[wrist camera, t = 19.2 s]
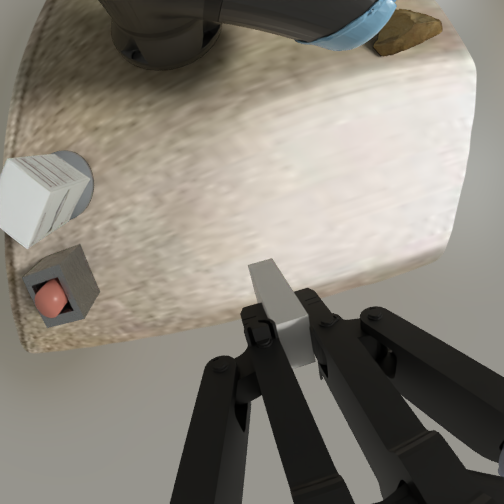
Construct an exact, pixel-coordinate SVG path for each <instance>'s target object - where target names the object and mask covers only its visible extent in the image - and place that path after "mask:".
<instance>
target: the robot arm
mask: <svg viewBox="0 0 504 504" xmlns="http://www.w3.org/2000/svg"><path fill="white" fill-rule="evenodd" d="M395 1H396V0H99V2H100V3H101V4H102V5H103V7H104V8H105V9H106V11H107V12H108V13H109V15H110V16H111V17H112V23H111V35H112V39H113V42H114V45H115V46H116V48H117V50H118V51H119V52H120V53H121V54H122V56H123V57H124V58H125V59H126V60H128V61H129V62H130V63H132V64H134V65H136V66H138V67H141V68H144V69H149V70H170V69H175V68H179V67H182V66H185V65H187V64H189V63H191V62H193V61H195V60H197V59H198V58H200V57H201V56H203V55H204V54H205V53H206V52H207V51H208V50H209V49H210V48H211V47H212V46H213V45H214V43H215V42H216V40H217V38H218V37H219V34H220V32H221V28H222V23H224V24H230V25H236V26H241V27H246V28H251V29H255V30H260V31H264V32H268V33H272V34H276V35H280V36H284V37H287V38H291V39H294V40H295V41H296V42H298V43H301V44H312V45H316V46H319V47H322V48H326V49H329V50H333V51H341V50H351V49H354V48H356V47H358V46H361V45H362V44H364V43H366V42H367V41H369V40H370V39H371V38H372V37H374V36H375V35H376V34H377V33H378V32H379V31H380V30H381V29H382V28H383V27H384V26H385V24H386V23H387V22H388V20H389V19H390V18H391V16H392V14H393V13H394V11H395V9H396V7H397V6H396V4H395V3H394V2H395ZM248 268H249V271H250V275H251V279H252V283H253V287H254V291H255V294H256V298H257V302H258V304H254V305H251V306H247V307H244V308H243V309H242V311H241V318H242V322H243V326H244V333H245V337H246V340H247V343H248V347H247V349H246V350H245V352H244V353H243V354H241V355H240V356H238V357H236V358H235V359H234V358H232V357H230V356H219V357H215V358H214V359H211V360H210V361H209V362H208V363H207V365H206V366H205V369H204V373H203V376H202V380H201V384H200V388H199V392H198V395H197V399H196V403H195V407H194V410H193V414H192V418H191V422H190V426H189V430H188V434H187V438H186V441H185V445H184V449H183V453H182V457H181V461H180V465H179V469H178V473H177V477H176V480H175V484H174V489H173V493H172V497H171V501H170V504H242V495H243V485H244V475H245V464H246V455H247V444H248V434H249V423H250V412H251V401H252V400H254V399H256V398H258V397H259V396H261V395H262V396H263V400H264V403H265V407H266V411H267V414H268V417H269V421H270V424H271V428H272V431H273V435H274V438H275V441H276V444H277V448H278V451H279V454H280V458H281V461H282V464H283V467H284V471H285V474H286V477H287V481H288V484H289V487H290V491H291V495H292V499H293V502H294V504H355V503H354V501H353V499H352V496H351V494H350V492H349V490H348V488H347V486H346V483H345V482H344V479H343V478H342V477H341V476H340V475H339V474H338V472H337V470H336V468H335V466H334V464H333V461H332V459H331V457H330V455H329V452H328V450H327V448H326V445H325V443H324V441H323V439H322V436H321V434H320V432H319V430H318V427H317V425H316V423H315V420H314V418H313V416H312V414H311V411H310V409H309V407H308V405H307V402H306V400H305V398H304V395H303V393H302V391H301V388H300V386H299V384H298V381H297V379H296V377H295V374H294V372H293V370H292V369H295V368H298V367H301V366H304V365H307V364H310V363H313V362H315V356H316V358H317V360H318V366H319V374H320V379H321V380H322V379H323V377H324V379H325V381H326V383H327V385H328V387H329V389H330V391H331V392H332V394H333V396H334V398H335V400H336V402H337V404H338V406H339V407H340V409H341V411H342V413H343V415H344V417H345V419H346V421H347V422H348V425H349V427H350V429H351V430H352V432H353V434H354V436H355V438H356V440H357V442H358V444H359V445H360V447H361V450H362V451H363V453H364V455H365V457H366V459H367V461H368V463H369V465H370V467H371V468H372V471H373V472H374V474H375V476H376V478H377V480H378V482H379V485H380V491H381V494H382V497H383V501H381V502H378V503H373V504H504V377H502V376H501V375H499V374H497V373H496V372H494V371H492V370H491V369H489V368H487V367H486V366H484V365H482V364H480V363H478V362H477V361H475V360H474V359H472V358H470V357H468V356H466V355H465V354H463V353H462V352H460V351H458V350H457V349H455V348H453V347H451V346H450V345H448V344H446V343H445V342H443V341H441V340H439V339H438V338H436V337H434V336H432V335H431V334H429V333H427V332H425V331H424V330H422V329H420V328H419V327H417V326H415V325H413V324H411V323H410V322H408V321H406V320H405V319H403V318H401V317H399V316H397V315H396V314H394V313H392V312H390V311H389V310H387V309H385V308H382V307H369V308H367V309H365V310H363V311H362V312H361V314H360V318H359V319H352V320H343V319H342V318H341V317H340V316H339V315H337V314H334V313H331V312H330V310H329V309H328V308H327V306H326V305H325V304H324V303H323V301H322V300H321V299H320V297H319V296H318V295H317V293H316V292H315V291H314V290H311V289H309V288H305V289H302V290H299V291H295V292H293V290H292V289H291V287H290V285H289V284H288V282H287V281H286V279H285V278H284V276H283V275H282V273H281V271H280V270H279V268H278V267H277V265H276V264H275V262H274V261H273V259H272V258H271V259H268V260H264V261H261V262H257V263H254V264H250V265H248ZM314 354H315V356H314ZM322 375H323V377H322ZM400 394H401V395H402V396H403V397H405V398H406V399H407V400H408V401H410V402H411V403H412V404H414V405H415V406H416V407H417V408H419V409H420V410H421V411H423V412H424V413H425V414H427V415H428V416H429V417H430V418H432V419H433V420H434V421H435V422H437V423H438V424H439V425H441V426H442V427H443V428H445V429H446V430H447V431H448V432H450V433H451V434H452V435H454V436H455V437H456V438H458V439H459V440H460V441H462V442H463V443H464V444H466V445H467V446H468V447H470V448H471V449H472V450H474V451H475V452H477V453H478V454H480V455H481V456H483V457H485V458H487V459H489V460H491V461H494V462H497V463H499V469H498V473H499V475H500V476H496V475H491V474H486V473H481V472H476V471H472V470H468V469H466V468H465V467H464V465H463V464H462V462H461V461H460V460H459V458H458V457H457V456H456V454H455V453H454V451H453V450H452V449H451V447H450V446H449V445H448V443H447V442H446V441H445V439H444V438H443V437H442V435H441V434H439V432H436V431H435V430H433V431H428V430H427V429H426V428H425V427H424V426H423V424H422V423H421V422H420V420H419V419H418V418H417V416H416V415H415V414H414V412H413V411H412V409H411V408H410V407H409V405H408V404H407V403H406V402H405V400H404V399H403V397H402V396H401V395H400Z"/></svg>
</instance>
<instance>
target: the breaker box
mask: <svg viewBox="0 0 504 504" xmlns="http://www.w3.org/2000/svg"><path fill="white" fill-rule="evenodd" d="M56 277H58V279H59V281H60V283H61V285H62V287H63V289H64V292H65V294H66V296H67V298H68V302H67V303H66V304H65V306H64V307H63V309H62V310H61V311H60V313H59V314H58V316H56V317H54V318H49V317H46V316H44V315H43V314H41V313H40V312H39V310H38V309H37V310H38V312H39V313H40V315H41V317H42V319H43V321H44V323H45V325H46V326H47V328H49V327H53V326H57V325H61V324H65V323H69V322H73V321H77V320H81V319H85V317H86V315H87V313H88V312H89V310H90V308H91V306H92V305H93V303H94V301H95V300H96V298H97V296H98V294H99V293H100V290H99V288H98V286H97V284H96V281H95V279H94V277H93V274H92V272H91V270H90V267H89V265H88V262H87V260H86V257H85V255H84V252H83V250H82V247H81V245H80V244H79V245H77V246H74V247H71V248H68V249H66V250H63V251H60V252H57V253H55V254H52V255H49V256H47V257H45V258H44V259H43V260H42V261H40V262H39V263H38V264H37V265H36V266H35V267H33V268H32V269H31V270H30V271H29V272H28V273H27V274H26V275H24V276H23V277H22V279H23V281H24V283H25V285H26V287H27V289H28V292H29V294H30V296H31V298H32V300H33V302H34V304H35V295H36V294H37V292H38V291H39V290H40V289H41V288H42V287H43V286H44V285H45V284H46V283H47V282H48V281H49V280H50V279H53V278H56ZM35 306H36V305H35ZM36 308H37V307H36Z"/></svg>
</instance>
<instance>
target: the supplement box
mask: <svg viewBox="0 0 504 504" xmlns="http://www.w3.org/2000/svg"><path fill="white" fill-rule="evenodd" d="M89 181H90V178H89V177H87V176H86V175H84V174H83V173H81V172H80V171H78V170H77V169H76V168H74V167H73V166H71V165H70V164H68V163H67V162H66V161H64V160H63V159H61V158H60V157H58V156H57V155H55V154H48V155H36V156H27V157H18V158H8V159H7V160H6V162H5V165H4V167H3V170H2V173H1V175H0V228H1V229H2V230H3V231H4V232H6V233H7V234H8V235H9V236H11V237H12V238H13V239H14V240H16V241H17V242H18V243H20V244H21V245H22V246H23V247H25V248H26V249H28V248H30V247H31V246H33V245H34V244H35V243H37V242H38V241H40V240H41V239H43V238H44V237H46V236H47V235H49V234H50V233H52V232H53V231H55V230H56V229H58V228H59V227H61V226H63V225H64V224H66V223H67V222H69V220H70V217H71V215H72V213H73V211H74V208H75V206H76V204H77V202H78V200H79V198H80V197H81V195H82V193H83V191H84V189H85V188H86V186H87V184H88V182H89Z"/></svg>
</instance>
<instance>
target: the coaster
mask: <svg viewBox="0 0 504 504" xmlns="http://www.w3.org/2000/svg"><path fill="white" fill-rule="evenodd" d="M52 154H55V155H57V156H58V157H60V158H61V159H63V160H64V161H66V162H67V163H68V164H70V165H71V166H73V167H74V168H76V169H77V170H78V171H80V172H81V173H83V174H84V175H86V176H87V177H89V178H90V181H89V182H88V184H87V186H86V188H85V189H84V191H83V193H82V195H81V197H80V198H79V200H78V202H77V204H76V206H75V208H74V211H73V213H72V215H71V217H70V220H71V219H73V218H75V217H77V216H78V215H80V214H81V213H82V212H83V211H84V210H85V209H86V208H87V206H88V205H89V203H90V201H91V198H92V195H93V190H94V179H93V174H92V171H91V168H90V166H89V164H88V163H87V161H86V160H85V159H84V158H83V157H82V156H80V155H79V154H77V153H75V152H72V151H57V152H54V153H52Z"/></svg>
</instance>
